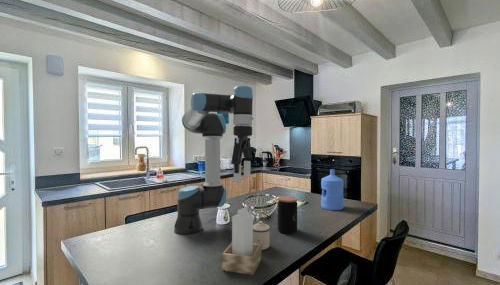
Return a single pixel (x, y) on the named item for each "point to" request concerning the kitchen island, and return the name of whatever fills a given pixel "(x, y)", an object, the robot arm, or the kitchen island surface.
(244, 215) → the milk
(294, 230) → the coffee jar
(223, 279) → the kitchen island surface
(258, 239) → the teacup with lid
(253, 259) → the holder
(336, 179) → the water jug
